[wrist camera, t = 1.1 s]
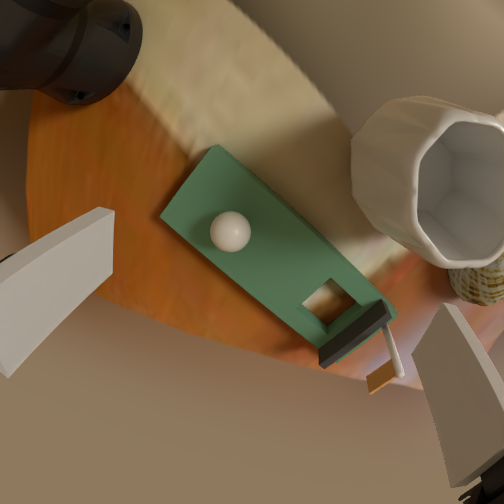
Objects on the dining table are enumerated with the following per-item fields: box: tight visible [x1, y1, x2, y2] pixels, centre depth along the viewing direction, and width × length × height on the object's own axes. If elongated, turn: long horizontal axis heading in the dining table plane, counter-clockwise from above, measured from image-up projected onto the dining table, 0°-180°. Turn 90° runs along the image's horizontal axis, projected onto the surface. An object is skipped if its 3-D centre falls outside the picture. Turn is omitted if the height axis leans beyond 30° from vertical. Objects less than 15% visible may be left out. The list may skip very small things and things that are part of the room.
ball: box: [210, 211, 251, 252], centre depth 30 cm, size 4×4×4 cm
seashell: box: [448, 252, 504, 306], centre depth 27 cm, size 10×10×10 cm
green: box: [160, 145, 405, 394], centre depth 29 cm, size 28×10×12 cm, turn 49°
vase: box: [350, 95, 504, 269], centre depth 21 cm, size 14×14×15 cm
